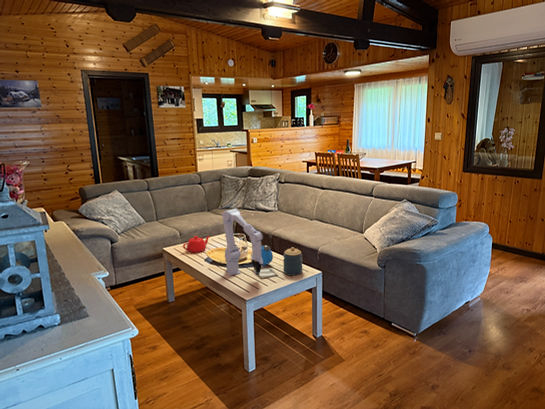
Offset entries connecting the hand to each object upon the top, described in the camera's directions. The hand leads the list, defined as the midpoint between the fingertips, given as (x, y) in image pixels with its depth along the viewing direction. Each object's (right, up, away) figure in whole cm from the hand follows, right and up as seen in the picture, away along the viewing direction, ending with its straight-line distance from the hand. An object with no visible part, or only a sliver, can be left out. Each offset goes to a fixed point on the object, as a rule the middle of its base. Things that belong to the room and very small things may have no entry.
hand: (257, 271), depth 234 cm
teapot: (-51, +5, +63) cm, 81 cm away
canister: (+24, -3, +15) cm, 28 cm away
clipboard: (+4, -4, +13) cm, 14 cm away
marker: (0, -2, +1) cm, 2 cm away
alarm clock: (+3, -1, +29) cm, 29 cm away
